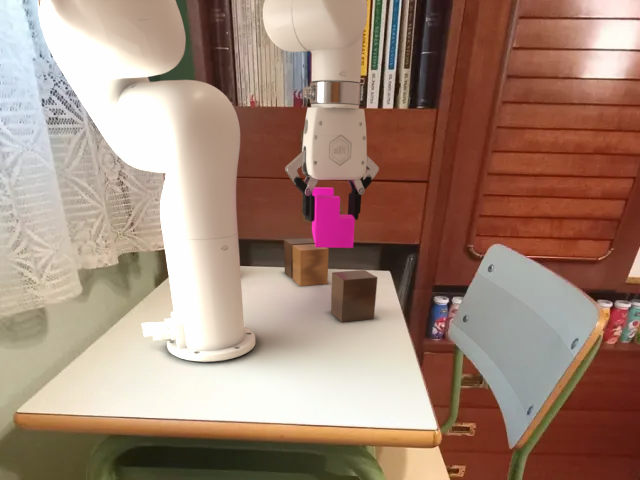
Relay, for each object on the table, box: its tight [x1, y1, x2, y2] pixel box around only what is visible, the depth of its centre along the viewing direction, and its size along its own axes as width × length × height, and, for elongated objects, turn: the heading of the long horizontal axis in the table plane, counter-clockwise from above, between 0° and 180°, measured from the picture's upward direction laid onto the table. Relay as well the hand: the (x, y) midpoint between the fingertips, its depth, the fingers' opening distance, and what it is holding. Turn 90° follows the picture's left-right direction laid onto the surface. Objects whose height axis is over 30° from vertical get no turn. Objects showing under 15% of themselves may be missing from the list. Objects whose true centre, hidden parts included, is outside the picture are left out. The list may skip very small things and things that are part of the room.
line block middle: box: [292, 244, 330, 287], centre depth 98 cm, size 6×5×7 cm
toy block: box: [311, 186, 356, 249], centre depth 84 cm, size 15×6×8 cm, turn 3°
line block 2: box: [330, 269, 378, 323], centre depth 81 cm, size 6×5×7 cm
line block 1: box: [283, 237, 315, 279], centre depth 103 cm, size 6×5×7 cm
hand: (331, 218), depth 84 cm, fingers closed on toy block, 7 cm apart
